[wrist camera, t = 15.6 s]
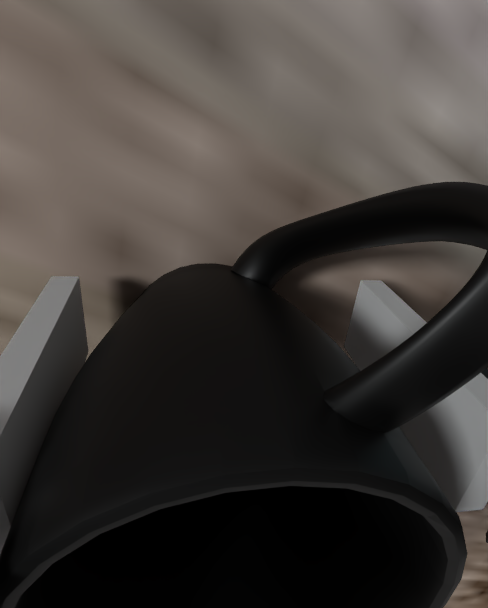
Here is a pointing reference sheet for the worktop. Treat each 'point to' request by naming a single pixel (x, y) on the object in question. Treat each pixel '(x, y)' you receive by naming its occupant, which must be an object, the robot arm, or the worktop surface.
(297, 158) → the worktop surface
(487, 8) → the worktop surface
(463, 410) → the robot arm
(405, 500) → the mug
